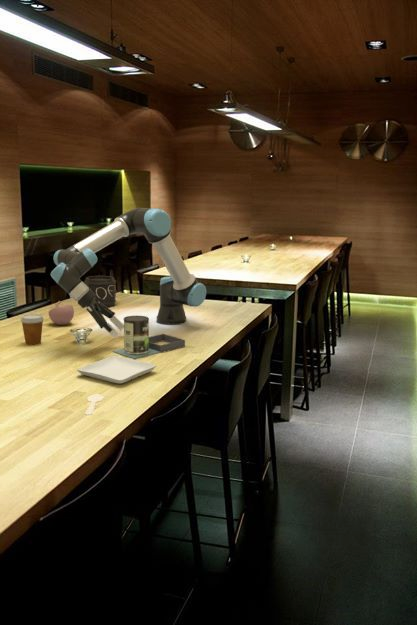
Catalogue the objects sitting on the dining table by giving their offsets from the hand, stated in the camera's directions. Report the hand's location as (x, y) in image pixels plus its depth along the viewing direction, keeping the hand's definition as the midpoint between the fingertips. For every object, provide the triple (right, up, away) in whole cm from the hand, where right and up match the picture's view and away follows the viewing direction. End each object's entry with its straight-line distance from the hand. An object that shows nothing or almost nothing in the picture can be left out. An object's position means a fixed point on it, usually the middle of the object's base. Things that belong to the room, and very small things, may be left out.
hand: (120, 332), depth 247 cm
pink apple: (-35, +2, +47) cm, 59 cm away
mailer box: (+11, -7, +7) cm, 15 cm away
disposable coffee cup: (-39, -5, +12) cm, 42 cm away
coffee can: (+6, -8, +2) cm, 10 cm away
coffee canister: (-25, +12, +94) cm, 98 cm away
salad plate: (+3, -15, -27) cm, 31 cm away
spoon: (0, -21, -56) cm, 60 cm away
